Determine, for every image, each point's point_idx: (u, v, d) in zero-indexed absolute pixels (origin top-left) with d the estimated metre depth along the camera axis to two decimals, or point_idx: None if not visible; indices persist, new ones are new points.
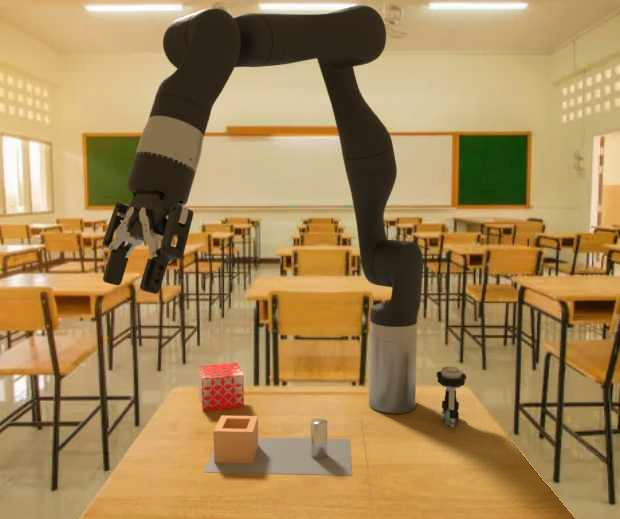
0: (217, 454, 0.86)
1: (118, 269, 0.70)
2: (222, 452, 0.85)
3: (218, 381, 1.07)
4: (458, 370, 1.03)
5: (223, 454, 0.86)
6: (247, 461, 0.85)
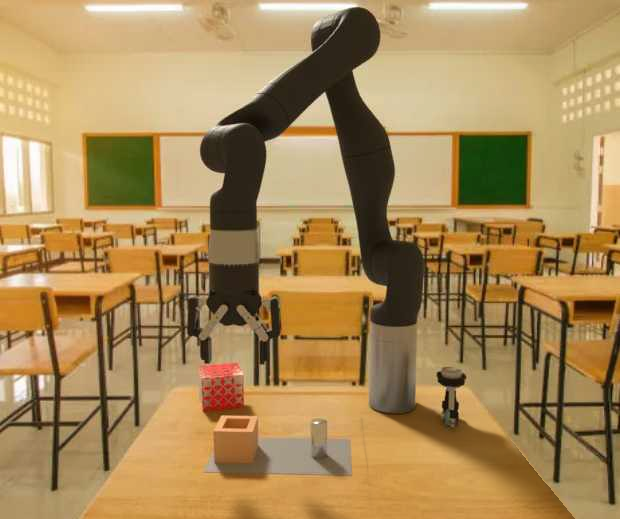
0: (217, 454, 0.86)
1: (210, 350, 0.87)
2: (222, 452, 0.85)
3: (218, 381, 1.07)
4: (458, 370, 1.03)
5: (223, 454, 0.86)
6: (247, 461, 0.85)
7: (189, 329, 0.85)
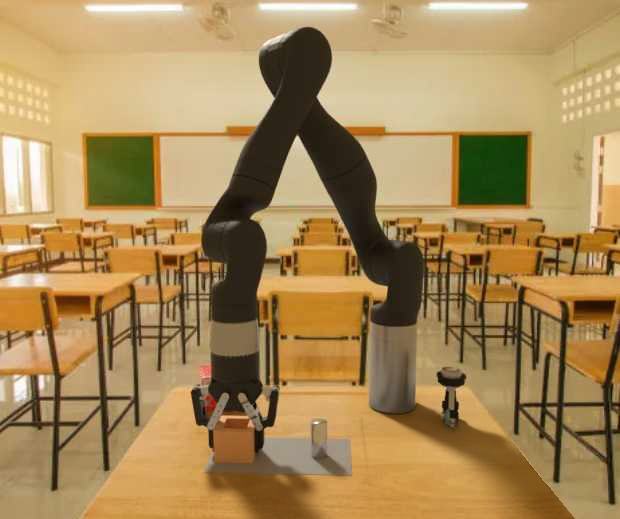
0: (217, 454, 0.86)
1: None
2: (222, 452, 0.85)
3: None
4: (458, 370, 1.03)
5: (223, 454, 0.86)
6: (247, 461, 0.85)
7: (198, 419, 0.87)
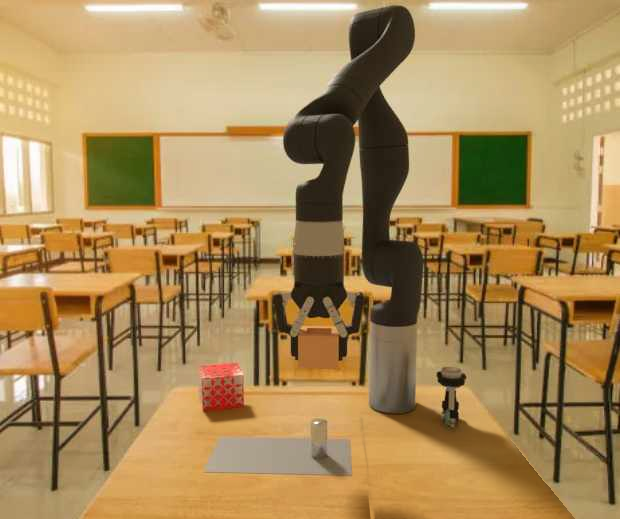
0: (301, 360, 0.83)
1: None
2: (307, 358, 0.83)
3: (218, 381, 1.07)
4: (458, 370, 1.03)
5: (308, 360, 0.83)
6: (332, 367, 0.83)
7: (280, 325, 0.85)
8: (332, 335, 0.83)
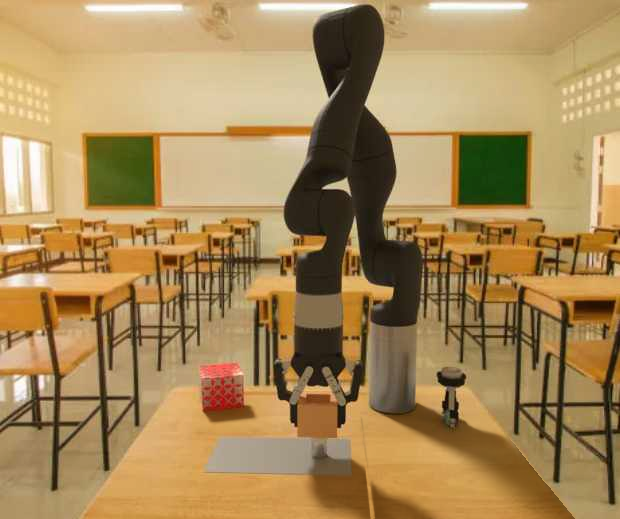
0: (300, 429, 0.84)
1: None
2: (306, 427, 0.84)
3: (218, 381, 1.07)
4: (458, 370, 1.03)
5: (307, 429, 0.84)
6: (331, 436, 0.84)
7: (280, 393, 0.86)
8: (331, 404, 0.84)
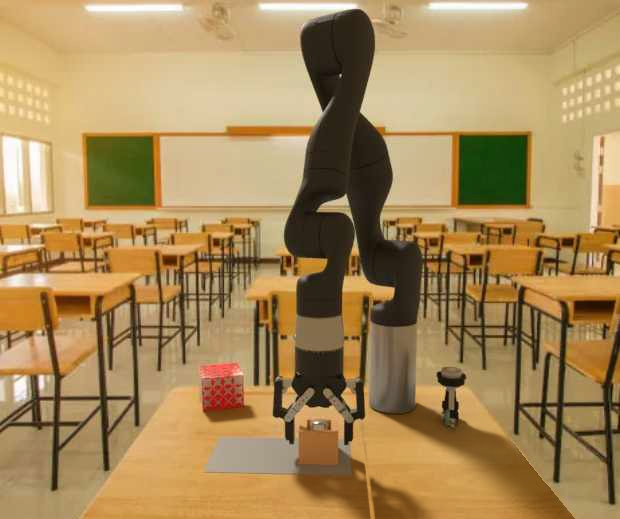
0: (302, 456, 0.85)
1: (294, 430, 0.88)
2: (307, 454, 0.85)
3: (218, 381, 1.07)
4: (458, 370, 1.03)
5: (308, 456, 0.85)
6: (332, 463, 0.85)
7: (275, 411, 0.86)
8: (332, 432, 0.85)
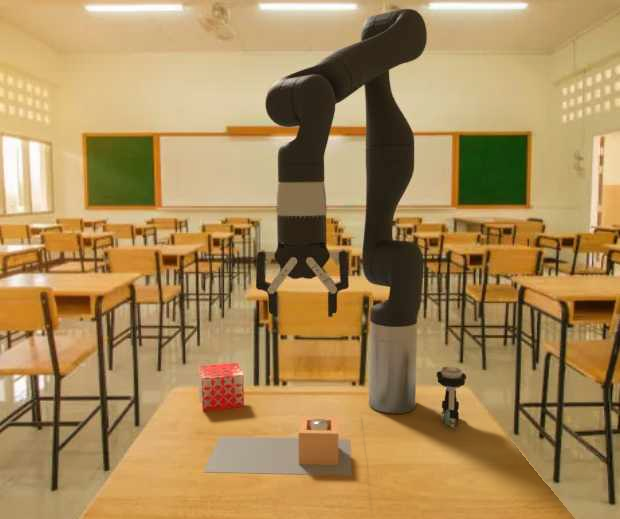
0: (302, 456, 0.85)
1: None
2: (307, 454, 0.85)
3: (218, 381, 1.07)
4: (458, 370, 1.03)
5: (308, 456, 0.85)
6: (332, 463, 0.85)
7: (258, 283, 0.86)
8: (332, 432, 0.85)
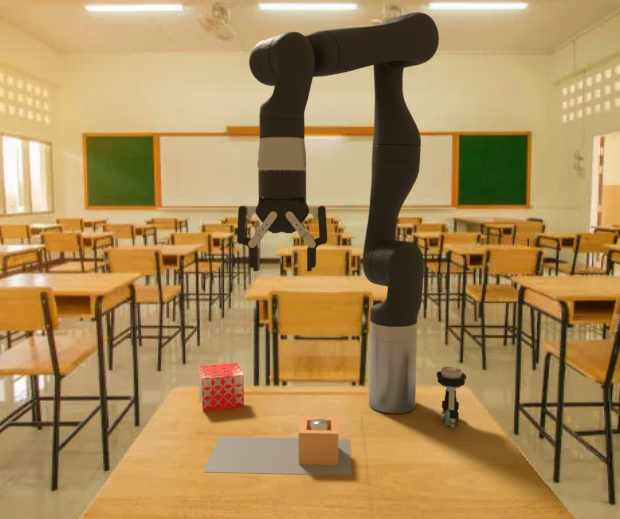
0: (302, 456, 0.85)
1: (258, 258, 0.90)
2: (307, 454, 0.85)
3: (218, 381, 1.07)
4: (458, 370, 1.03)
5: (308, 456, 0.85)
6: (332, 463, 0.85)
7: (239, 237, 0.88)
8: (332, 432, 0.85)
